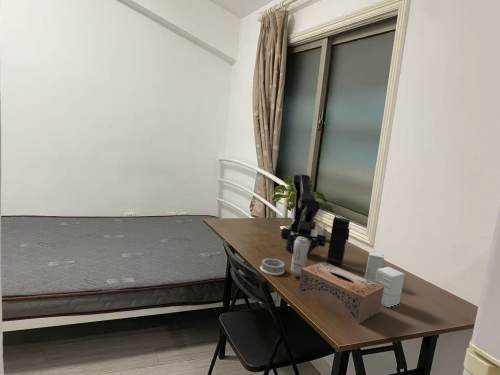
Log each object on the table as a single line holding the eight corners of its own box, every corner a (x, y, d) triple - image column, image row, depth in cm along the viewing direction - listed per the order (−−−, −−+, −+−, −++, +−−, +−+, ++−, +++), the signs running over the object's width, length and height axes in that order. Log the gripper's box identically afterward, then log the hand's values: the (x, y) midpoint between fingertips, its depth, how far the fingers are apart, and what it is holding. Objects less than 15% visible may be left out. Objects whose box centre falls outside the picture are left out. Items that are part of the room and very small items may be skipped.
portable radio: (344, 265, 172) (353, 214, 167) (342, 269, 166) (351, 217, 162) (328, 261, 175) (336, 211, 171) (325, 265, 170) (333, 213, 165)
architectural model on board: (325, 242, 207) (328, 225, 205) (321, 242, 205) (324, 226, 203) (312, 235, 216) (314, 220, 214) (308, 236, 214) (311, 220, 213)
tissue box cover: (379, 312, 130) (384, 286, 128) (358, 324, 120) (363, 296, 118) (320, 284, 148) (323, 261, 146) (298, 293, 138) (301, 268, 136)
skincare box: (364, 281, 156) (369, 254, 154) (364, 277, 160) (368, 251, 158) (379, 284, 154) (384, 257, 152) (378, 280, 159) (383, 254, 156)
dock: (278, 265, 163) (279, 258, 162) (288, 274, 153) (289, 267, 153) (257, 265, 160) (257, 258, 159) (265, 275, 150) (266, 267, 149)
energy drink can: (287, 271, 152) (292, 237, 149) (295, 268, 156) (300, 235, 154) (299, 276, 148) (304, 241, 145) (307, 273, 153) (312, 239, 150)
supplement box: (383, 296, 143) (388, 266, 141) (399, 305, 137) (405, 273, 135) (370, 299, 139) (376, 268, 137) (387, 308, 133) (393, 276, 131)
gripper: (285, 209, 154) (277, 241, 145) (329, 217, 149) (323, 250, 141) (285, 222, 163) (277, 253, 154) (327, 230, 158) (322, 262, 150)
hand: (299, 255), depth 150 cm, fingers closed on energy drink can, 6 cm apart
